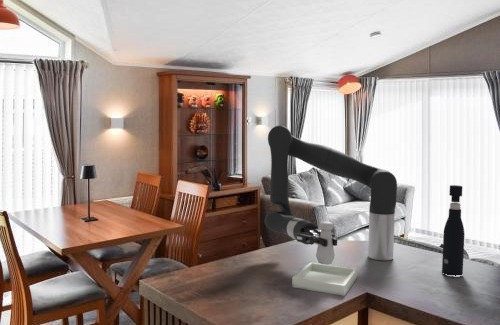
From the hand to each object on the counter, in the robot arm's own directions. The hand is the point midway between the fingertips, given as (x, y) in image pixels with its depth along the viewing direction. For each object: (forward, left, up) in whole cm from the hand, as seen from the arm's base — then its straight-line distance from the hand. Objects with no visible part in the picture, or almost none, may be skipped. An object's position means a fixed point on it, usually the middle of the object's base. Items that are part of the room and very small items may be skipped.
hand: (331, 243), depth 140 cm
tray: (-2, -2, -13) cm, 14 cm away
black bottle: (-29, +34, -13) cm, 47 cm away
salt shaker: (-2, -2, -7) cm, 8 cm away
